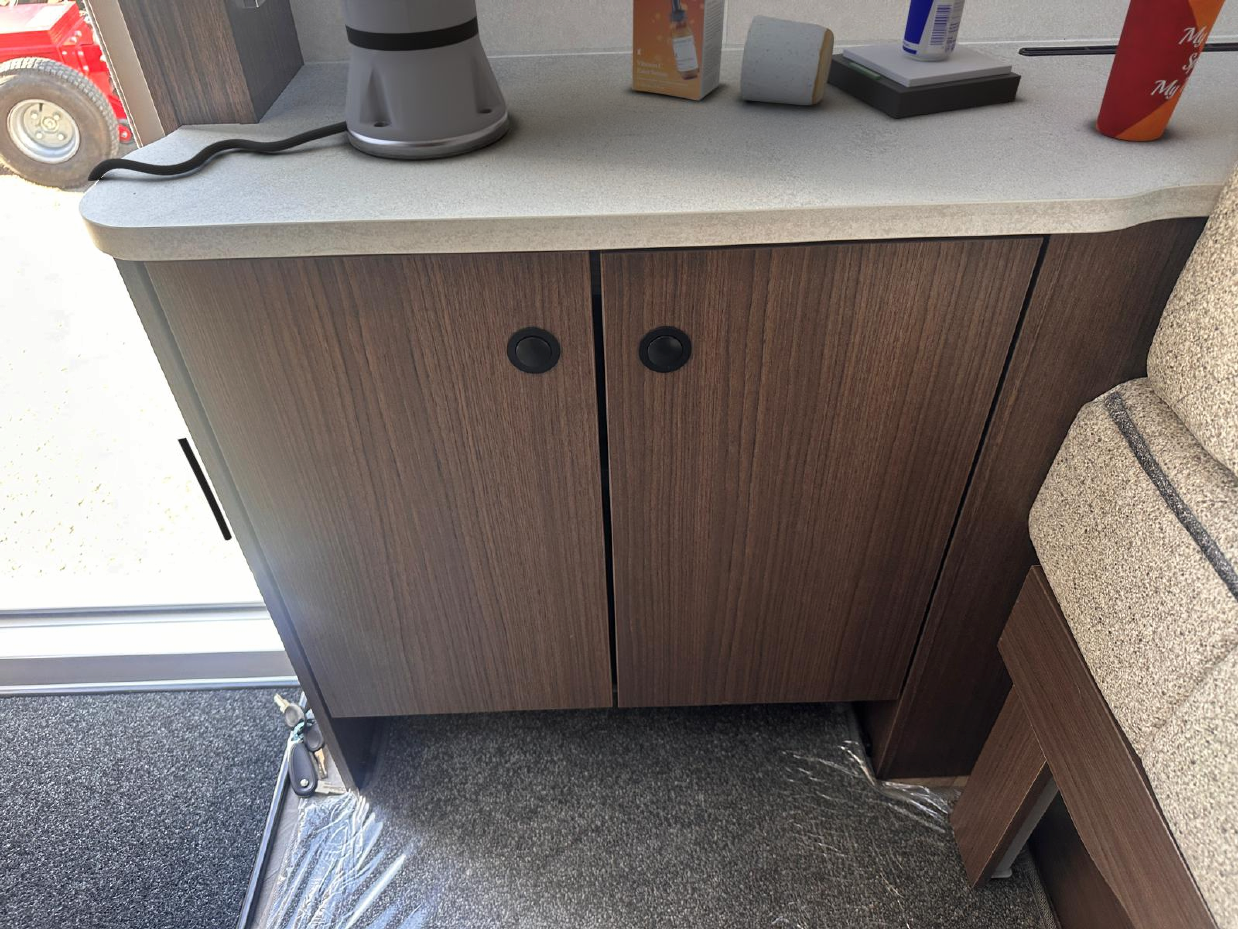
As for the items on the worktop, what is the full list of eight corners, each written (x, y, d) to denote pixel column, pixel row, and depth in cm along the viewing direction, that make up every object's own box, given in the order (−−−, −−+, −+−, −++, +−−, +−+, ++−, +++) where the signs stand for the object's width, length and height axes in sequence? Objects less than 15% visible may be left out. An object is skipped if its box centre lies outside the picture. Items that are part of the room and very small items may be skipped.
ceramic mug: (818, 116, 82) (830, 29, 77) (736, 109, 84) (743, 24, 79) (831, 86, 90) (843, 5, 85) (755, 80, 92) (763, 1, 87)
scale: (895, 118, 81) (902, 83, 79) (822, 78, 91) (826, 47, 89) (1014, 100, 84) (1024, 66, 82) (931, 64, 95) (937, 33, 92)
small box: (631, 91, 89) (630, -21, 82) (653, 77, 93) (654, -32, 86) (700, 101, 86) (705, -15, 79) (720, 86, 90) (727, -26, 83)
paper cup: (1170, 150, 73) (1244, -32, 64) (1076, 136, 77) (1134, -40, 67) (1179, 124, 78) (1249, -49, 69) (1090, 111, 82) (1147, -56, 72)
